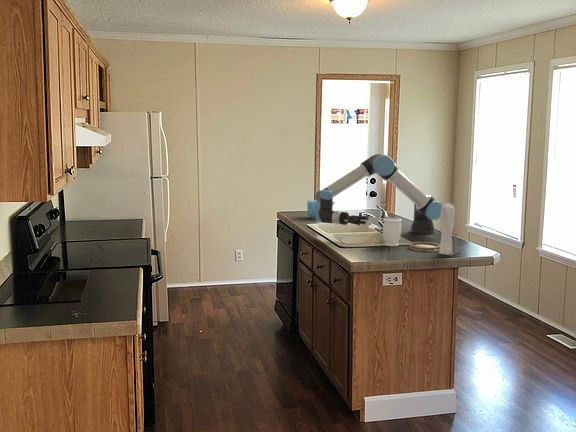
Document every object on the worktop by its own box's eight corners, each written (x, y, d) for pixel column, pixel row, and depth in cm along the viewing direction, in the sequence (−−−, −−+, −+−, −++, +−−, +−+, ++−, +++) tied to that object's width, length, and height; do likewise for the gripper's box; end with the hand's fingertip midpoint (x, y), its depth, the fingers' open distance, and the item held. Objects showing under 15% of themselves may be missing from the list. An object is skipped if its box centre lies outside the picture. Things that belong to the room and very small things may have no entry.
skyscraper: (449, 256, 318) (452, 203, 314) (435, 254, 323) (438, 202, 319) (457, 254, 324) (459, 201, 320) (443, 251, 330) (445, 200, 325)
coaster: (413, 244, 348) (413, 240, 347) (443, 247, 340) (443, 243, 340) (405, 249, 333) (405, 246, 332) (436, 252, 325) (436, 249, 325)
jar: (400, 247, 339) (401, 220, 336) (381, 246, 341) (382, 220, 338) (400, 243, 349) (401, 217, 347) (382, 242, 351) (383, 217, 349)
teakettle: (305, 216, 446) (306, 196, 444) (331, 216, 448) (331, 196, 446) (309, 220, 427) (309, 200, 425) (335, 220, 429) (336, 200, 427)
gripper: (348, 221, 369) (381, 224, 360) (332, 227, 347) (367, 231, 338) (348, 209, 368) (382, 212, 359) (332, 214, 346) (368, 217, 337)
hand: (375, 221), depth 348 cm, fingers open, 13 cm apart
